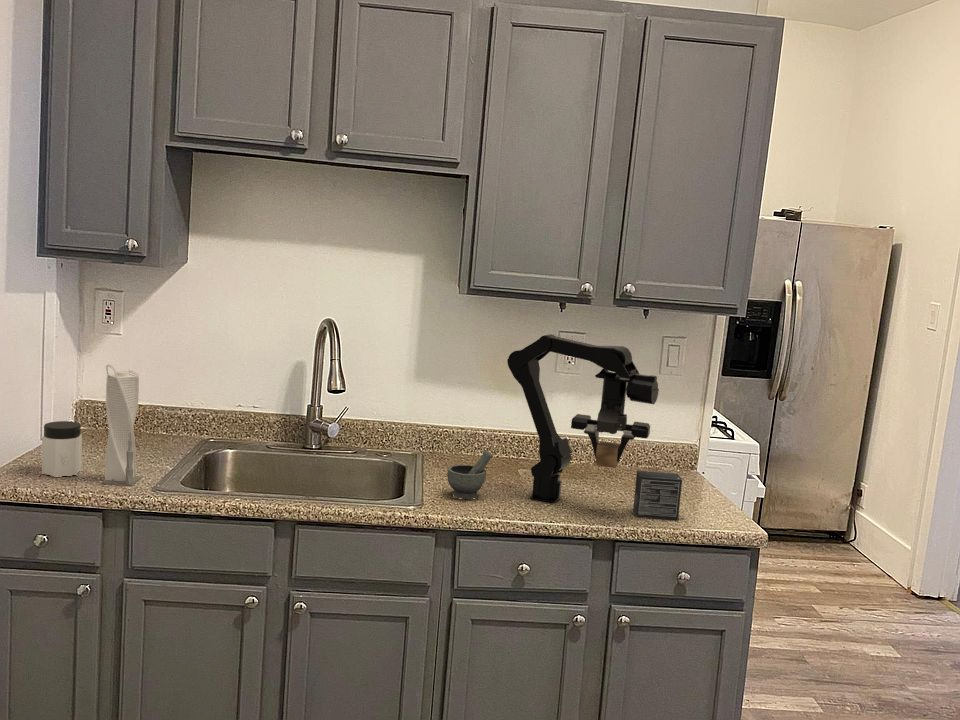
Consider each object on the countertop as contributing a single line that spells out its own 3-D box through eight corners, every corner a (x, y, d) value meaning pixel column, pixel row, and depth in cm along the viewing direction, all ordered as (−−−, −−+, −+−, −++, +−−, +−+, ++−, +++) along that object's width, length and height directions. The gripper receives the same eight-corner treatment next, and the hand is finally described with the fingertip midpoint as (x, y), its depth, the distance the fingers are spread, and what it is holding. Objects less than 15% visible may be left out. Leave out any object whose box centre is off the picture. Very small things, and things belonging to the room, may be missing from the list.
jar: (45, 479, 221) (46, 429, 220) (38, 470, 228) (38, 422, 226) (85, 475, 227) (86, 427, 225) (77, 467, 233) (78, 420, 231)
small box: (674, 512, 236) (678, 472, 234) (678, 521, 229) (683, 479, 228) (632, 509, 236) (636, 469, 234) (635, 517, 230) (640, 476, 228)
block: (595, 465, 229) (597, 445, 228) (598, 460, 234) (600, 441, 233) (615, 468, 228) (617, 448, 227) (618, 463, 232) (620, 443, 232)
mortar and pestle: (448, 501, 230) (451, 454, 228) (442, 490, 239) (446, 444, 237) (493, 502, 232) (497, 455, 230) (486, 491, 241) (489, 446, 239)
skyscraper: (95, 483, 221) (98, 366, 217) (108, 474, 229) (111, 361, 225) (131, 486, 221) (134, 369, 217) (143, 477, 229) (146, 364, 225)
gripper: (569, 398, 223) (563, 461, 225) (648, 408, 218) (641, 473, 220) (578, 391, 234) (572, 452, 236) (653, 400, 229) (646, 462, 231)
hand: (607, 460), depth 231 cm, fingers closed on block, 5 cm apart
